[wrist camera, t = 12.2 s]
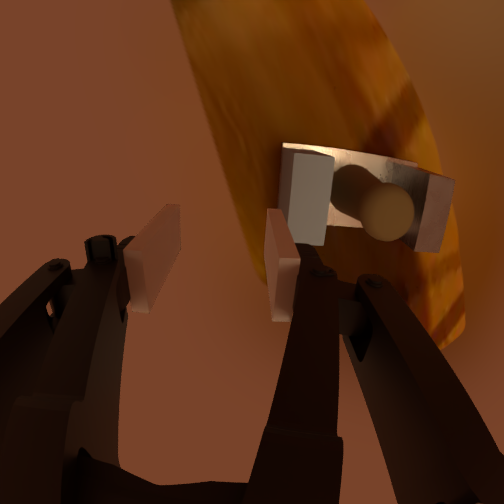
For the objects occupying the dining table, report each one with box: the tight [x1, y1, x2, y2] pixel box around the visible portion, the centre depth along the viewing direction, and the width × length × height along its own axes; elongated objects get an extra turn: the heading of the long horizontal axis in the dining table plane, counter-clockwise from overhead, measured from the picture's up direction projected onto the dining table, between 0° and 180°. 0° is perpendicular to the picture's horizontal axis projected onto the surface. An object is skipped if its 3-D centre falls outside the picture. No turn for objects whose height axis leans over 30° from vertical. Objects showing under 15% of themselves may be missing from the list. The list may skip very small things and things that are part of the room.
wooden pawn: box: [330, 164, 414, 241], centre depth 27 cm, size 6×6×11 cm
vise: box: [277, 142, 455, 253], centre depth 29 cm, size 9×17×9 cm, turn 87°
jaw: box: [278, 147, 335, 246], centre depth 28 cm, size 8×4×8 cm, turn 177°
